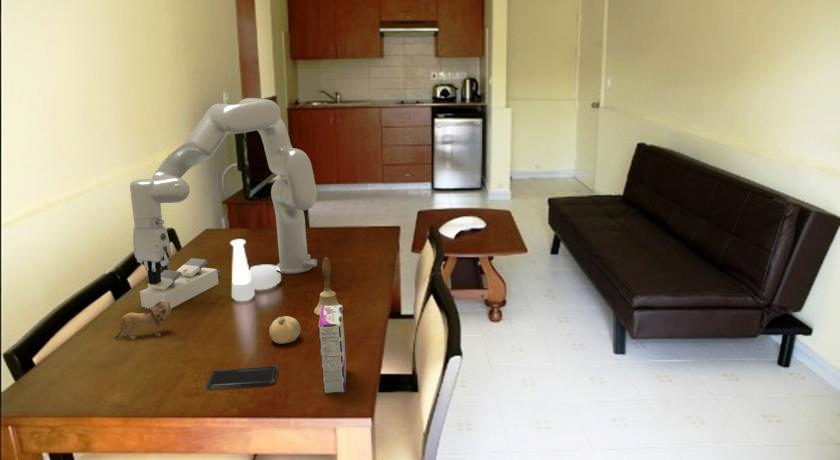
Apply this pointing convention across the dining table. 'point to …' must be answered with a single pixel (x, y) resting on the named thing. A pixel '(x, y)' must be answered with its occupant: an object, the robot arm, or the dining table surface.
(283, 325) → the onion
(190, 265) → the rocker
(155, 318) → the lion figurine
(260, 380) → the phone
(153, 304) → the strip
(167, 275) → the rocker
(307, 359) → the dining table surface
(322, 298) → the hand bell
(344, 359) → the candy bar box
